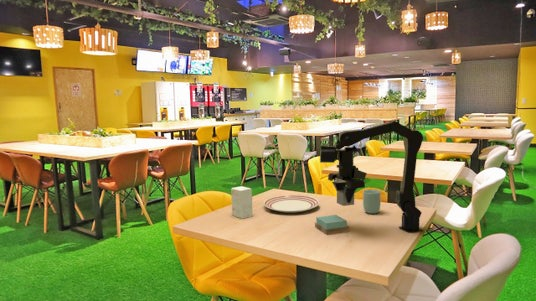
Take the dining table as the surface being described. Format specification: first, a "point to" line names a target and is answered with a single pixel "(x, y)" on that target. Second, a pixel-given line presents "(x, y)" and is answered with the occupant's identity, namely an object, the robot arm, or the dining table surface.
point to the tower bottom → (332, 231)
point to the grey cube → (343, 198)
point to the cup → (371, 201)
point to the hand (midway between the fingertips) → (345, 201)
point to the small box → (241, 202)
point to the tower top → (331, 222)
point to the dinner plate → (291, 203)
